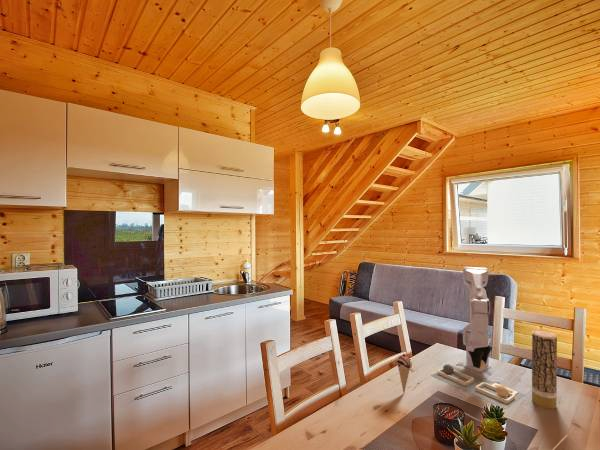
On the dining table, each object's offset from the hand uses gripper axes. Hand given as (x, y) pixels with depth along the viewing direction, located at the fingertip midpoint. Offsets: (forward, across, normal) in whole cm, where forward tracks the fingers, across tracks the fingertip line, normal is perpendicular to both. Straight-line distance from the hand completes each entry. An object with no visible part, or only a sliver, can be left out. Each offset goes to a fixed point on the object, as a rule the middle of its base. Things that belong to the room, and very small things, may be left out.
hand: (479, 365), depth 120 cm
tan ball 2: (+8, 0, +8) cm, 12 cm away
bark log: (+9, -8, +18) cm, 22 cm away
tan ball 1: (+2, 0, 0) cm, 2 cm away
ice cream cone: (+9, +27, -14) cm, 32 cm away
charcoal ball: (+8, 0, -13) cm, 15 cm away
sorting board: (+9, -1, -2) cm, 9 cm away
